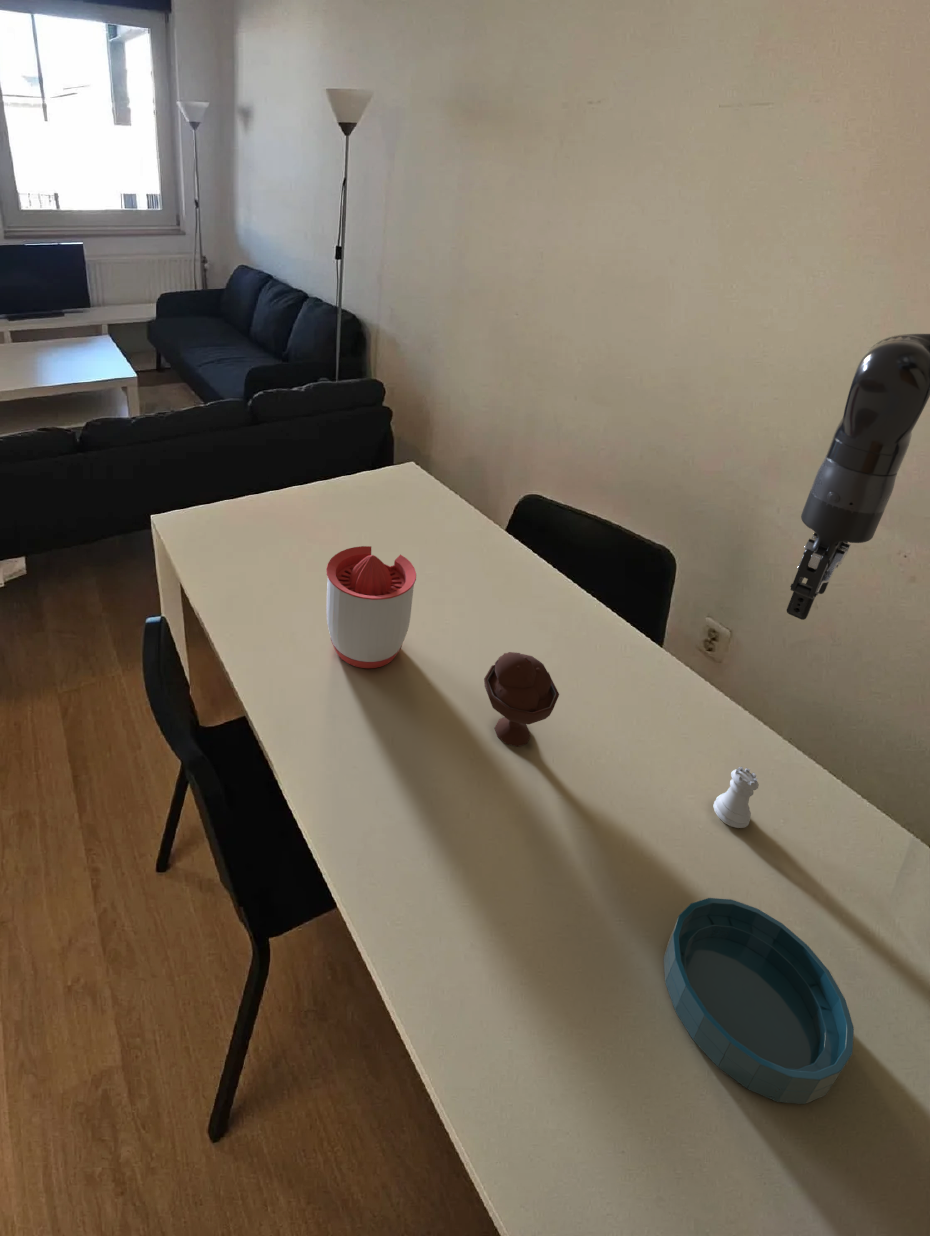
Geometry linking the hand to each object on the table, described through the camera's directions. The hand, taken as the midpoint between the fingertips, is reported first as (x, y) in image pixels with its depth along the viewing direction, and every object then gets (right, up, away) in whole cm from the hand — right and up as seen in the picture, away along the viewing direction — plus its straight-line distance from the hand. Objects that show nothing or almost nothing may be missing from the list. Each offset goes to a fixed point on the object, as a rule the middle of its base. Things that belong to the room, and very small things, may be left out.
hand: (805, 602), depth 87 cm
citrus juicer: (-57, -16, +33) cm, 68 cm away
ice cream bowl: (-35, -25, +16) cm, 46 cm away
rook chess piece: (-8, -31, +4) cm, 32 cm away
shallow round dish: (-19, -39, -17) cm, 47 cm away
